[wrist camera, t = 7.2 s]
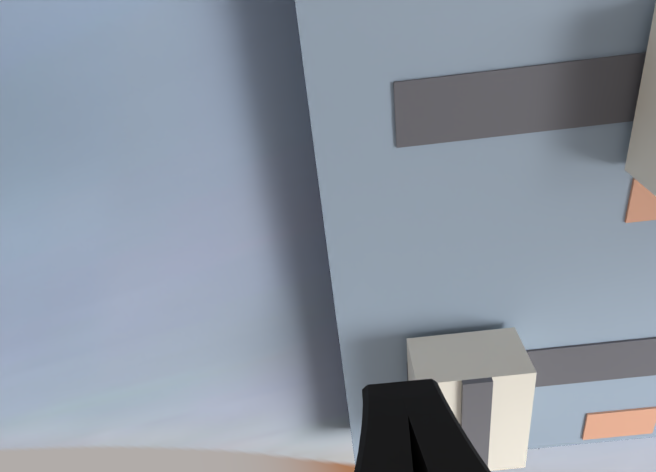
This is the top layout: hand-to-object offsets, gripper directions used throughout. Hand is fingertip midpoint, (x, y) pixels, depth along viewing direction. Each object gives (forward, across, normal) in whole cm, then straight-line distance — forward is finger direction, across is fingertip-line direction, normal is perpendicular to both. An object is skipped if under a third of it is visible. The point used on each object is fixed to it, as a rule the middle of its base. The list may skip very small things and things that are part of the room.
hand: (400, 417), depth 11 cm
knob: (+8, -3, +8) cm, 12 cm away
